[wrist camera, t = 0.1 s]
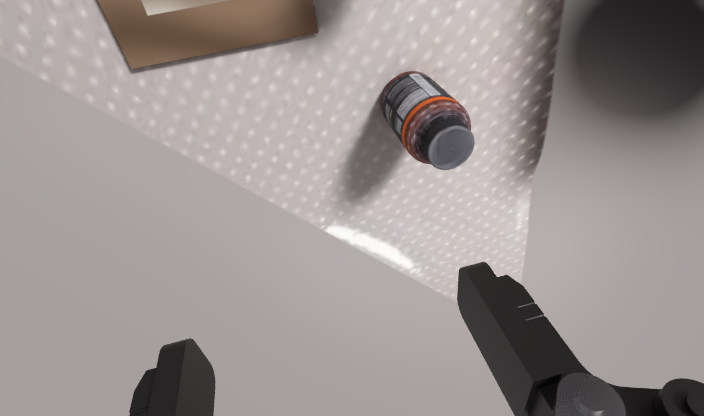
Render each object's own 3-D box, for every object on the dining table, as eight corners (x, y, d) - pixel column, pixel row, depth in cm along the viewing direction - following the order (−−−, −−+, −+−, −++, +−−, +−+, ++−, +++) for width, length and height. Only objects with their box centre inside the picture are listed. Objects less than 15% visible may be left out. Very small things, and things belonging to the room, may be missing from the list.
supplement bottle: (442, 106, 41) (494, 158, 32) (393, 135, 42) (431, 193, 33) (422, 57, 37) (476, 100, 29) (369, 89, 38) (405, 141, 29)
